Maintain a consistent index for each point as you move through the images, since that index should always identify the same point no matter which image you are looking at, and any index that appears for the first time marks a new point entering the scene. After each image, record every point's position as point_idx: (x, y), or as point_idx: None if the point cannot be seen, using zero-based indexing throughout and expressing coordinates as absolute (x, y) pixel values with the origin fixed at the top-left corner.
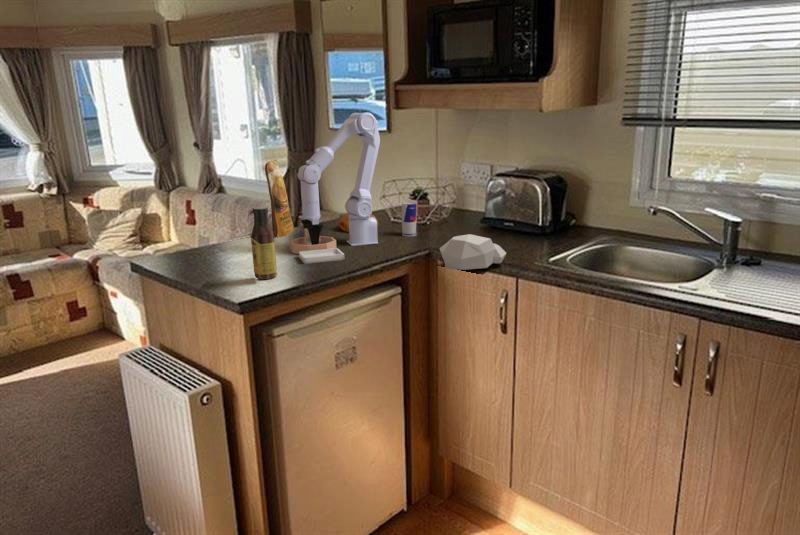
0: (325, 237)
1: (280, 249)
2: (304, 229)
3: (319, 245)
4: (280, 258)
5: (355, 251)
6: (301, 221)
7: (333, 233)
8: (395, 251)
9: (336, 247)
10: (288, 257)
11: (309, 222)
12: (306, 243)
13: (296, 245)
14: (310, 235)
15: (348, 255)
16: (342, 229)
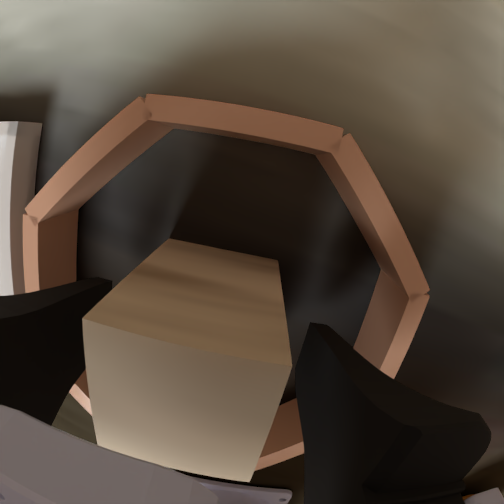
0: (282, 447)
1: (384, 79)
2: (288, 356)
3: None
4: (87, 7)
5: (65, 428)
6: (411, 426)
7: (484, 464)
8: None
9: None
10: (77, 55)
11: (340, 490)
12: (210, 267)
13: (106, 128)
14: (25, 296)
15: None
16: (464, 497)
